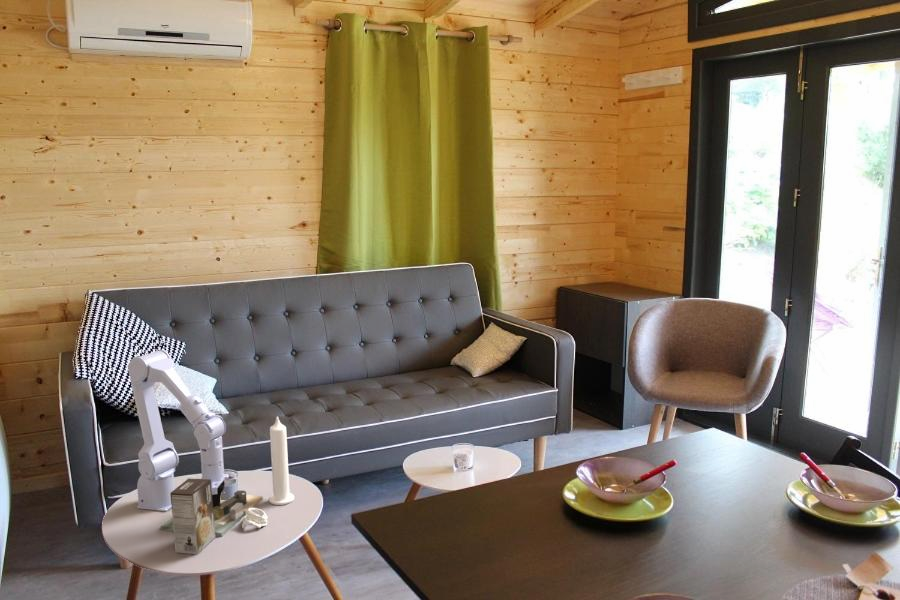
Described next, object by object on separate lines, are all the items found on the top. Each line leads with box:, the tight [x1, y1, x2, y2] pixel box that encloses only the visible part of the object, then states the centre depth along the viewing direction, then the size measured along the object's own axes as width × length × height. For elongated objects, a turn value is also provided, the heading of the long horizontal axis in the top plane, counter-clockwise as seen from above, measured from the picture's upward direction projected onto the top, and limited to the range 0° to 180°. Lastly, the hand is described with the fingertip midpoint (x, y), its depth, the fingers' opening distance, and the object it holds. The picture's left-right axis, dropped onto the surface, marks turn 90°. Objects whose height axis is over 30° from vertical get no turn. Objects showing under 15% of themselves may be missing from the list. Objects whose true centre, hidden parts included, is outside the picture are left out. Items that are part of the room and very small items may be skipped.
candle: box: [268, 416, 295, 506], centre depth 215 cm, size 7×7×25 cm
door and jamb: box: [159, 494, 263, 537], centre depth 209 cm, size 18×22×4 cm
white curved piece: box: [241, 507, 268, 530], centre depth 203 cm, size 8×7×5 cm
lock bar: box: [213, 490, 247, 519], centre depth 209 cm, size 12×3×3 cm, turn 154°
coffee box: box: [170, 477, 216, 555], centre depth 191 cm, size 9×6×16 cm
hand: (215, 508), depth 207 cm, fingers closed, pressing on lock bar
